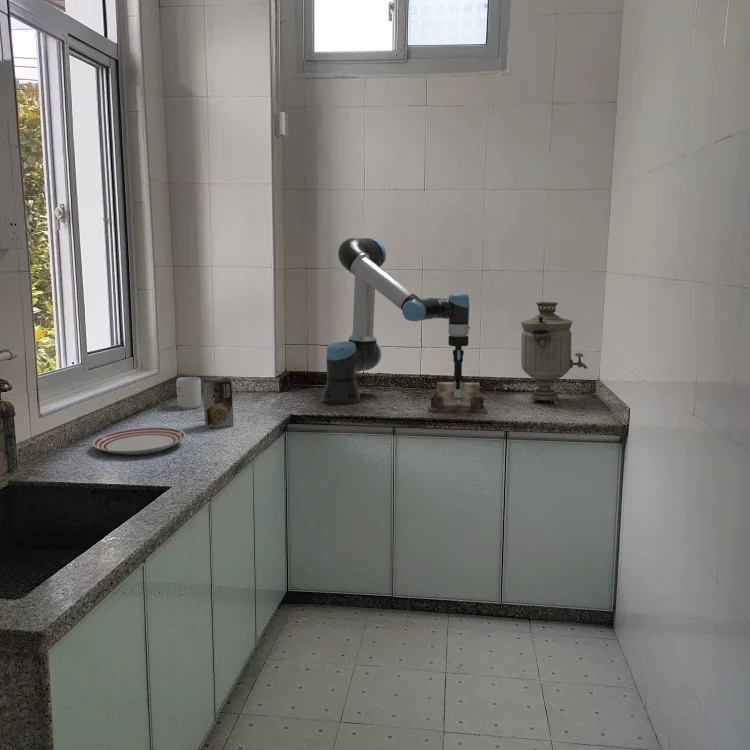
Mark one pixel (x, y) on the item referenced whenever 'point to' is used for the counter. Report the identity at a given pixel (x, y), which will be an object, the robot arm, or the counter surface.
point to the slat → (466, 390)
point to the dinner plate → (139, 440)
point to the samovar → (547, 350)
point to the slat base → (457, 406)
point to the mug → (189, 392)
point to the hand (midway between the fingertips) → (457, 396)
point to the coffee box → (218, 402)
